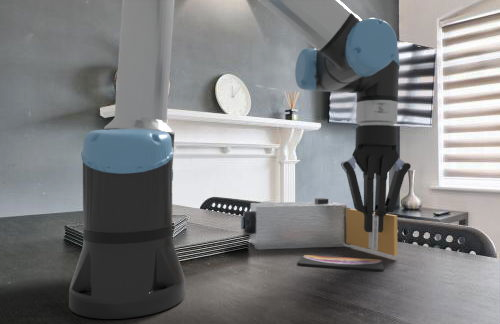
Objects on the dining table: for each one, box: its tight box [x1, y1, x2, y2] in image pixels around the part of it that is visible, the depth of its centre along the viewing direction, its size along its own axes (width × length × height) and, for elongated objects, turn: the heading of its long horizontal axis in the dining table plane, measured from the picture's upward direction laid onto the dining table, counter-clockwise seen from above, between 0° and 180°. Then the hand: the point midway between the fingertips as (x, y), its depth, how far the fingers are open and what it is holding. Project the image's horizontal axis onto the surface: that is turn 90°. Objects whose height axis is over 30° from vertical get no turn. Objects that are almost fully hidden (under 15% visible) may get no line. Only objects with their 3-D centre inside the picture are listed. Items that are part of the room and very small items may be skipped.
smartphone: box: [296, 254, 385, 273], centre depth 73 cm, size 8×1×15 cm
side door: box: [346, 206, 398, 257], centre depth 82 cm, size 14×2×8 cm, turn 29°
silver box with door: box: [240, 197, 348, 250], centre depth 90 cm, size 23×8×10 cm, turn 98°
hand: (373, 249), depth 76 cm, fingers closed
